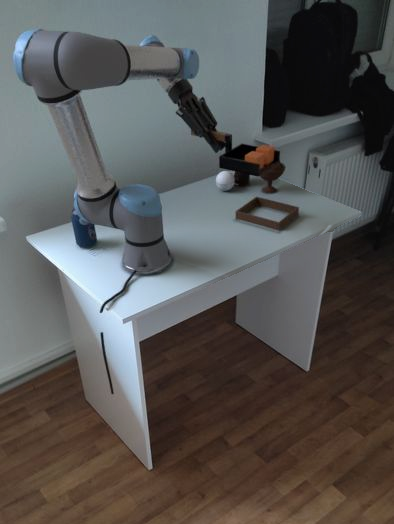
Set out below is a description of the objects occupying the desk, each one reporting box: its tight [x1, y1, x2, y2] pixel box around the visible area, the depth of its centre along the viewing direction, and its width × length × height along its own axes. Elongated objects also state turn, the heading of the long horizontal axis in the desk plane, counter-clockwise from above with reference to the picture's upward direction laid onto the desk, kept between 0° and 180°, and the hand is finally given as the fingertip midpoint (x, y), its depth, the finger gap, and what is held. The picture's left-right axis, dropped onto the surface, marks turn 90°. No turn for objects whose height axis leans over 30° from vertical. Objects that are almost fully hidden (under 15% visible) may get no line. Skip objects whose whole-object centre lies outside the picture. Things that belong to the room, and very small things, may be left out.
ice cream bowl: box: [259, 161, 286, 194], centre depth 191 cm, size 11×11×15 cm
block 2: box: [256, 144, 275, 165], centre depth 156 cm, size 4×4×4 cm
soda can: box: [70, 208, 98, 250], centre depth 164 cm, size 7×7×12 cm
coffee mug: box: [230, 170, 251, 188], centre depth 200 cm, size 12×9×10 cm
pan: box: [190, 128, 281, 178], centre depth 159 cm, size 29×13×8 cm, turn 55°
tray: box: [235, 196, 300, 232], centre depth 177 cm, size 17×14×4 cm
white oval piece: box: [215, 170, 235, 192], centre depth 195 cm, size 10×7×7 cm
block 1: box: [245, 151, 264, 169], centre depth 152 cm, size 4×4×4 cm
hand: (221, 149), depth 161 cm, fingers closed on pan, 2 cm apart
